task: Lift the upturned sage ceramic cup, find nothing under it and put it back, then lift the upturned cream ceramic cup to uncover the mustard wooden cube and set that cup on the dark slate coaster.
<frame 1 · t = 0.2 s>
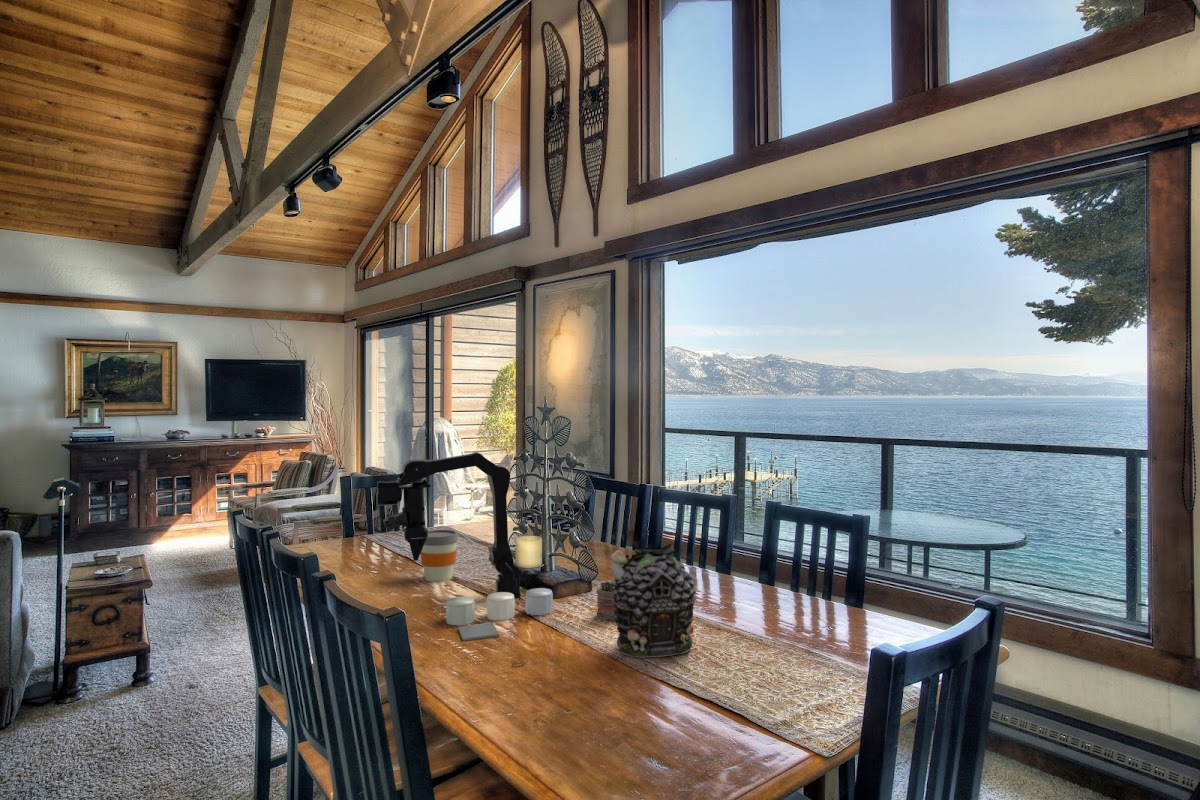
hand: (414, 556, 192), 14 cm above the table, tool pointing down, fingers open, 9 cm apart
cream cup: (500, 615, 183), on the table
sage cup: (460, 620, 180), on the table
reusable coffee cup: (438, 578, 223), on the table
yellow cube: (500, 616, 183), on the table
lighter: (610, 618, 181), on the table
light grey cylinder: (539, 611, 187), on the table
decorative house: (654, 649, 159), on the table
slate coaster: (478, 632, 170), on the table
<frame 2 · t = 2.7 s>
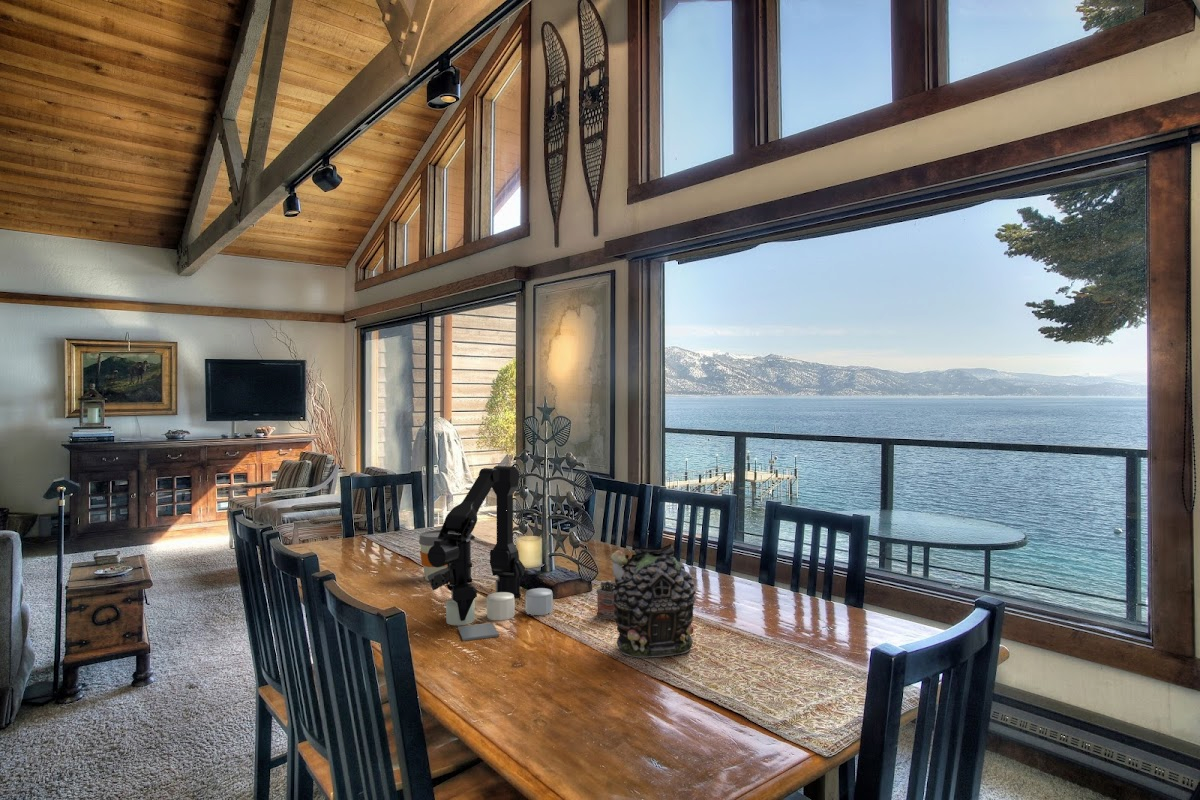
hand: (460, 616, 180), 1 cm above the table, tool pointing down, fingers closed on sage cup, 7 cm apart
sage cup: (460, 620, 180), on the table, touching gripper
everything else where it was.
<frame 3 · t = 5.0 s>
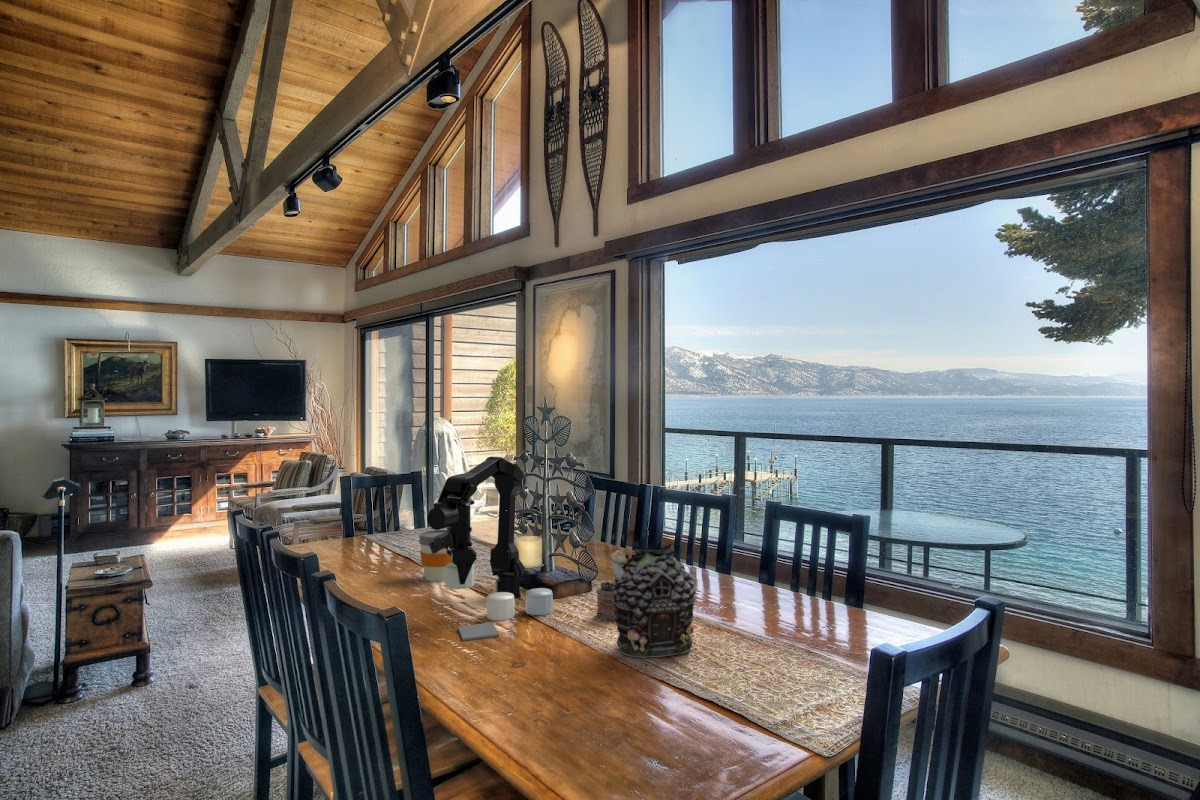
hand: (460, 580, 180), 11 cm above the table, tool pointing down, fingers closed on sage cup, 7 cm apart
sage cup: (460, 585, 180), point 10 cm above the table, touching gripper
everything else where it was.
when the fingers open (2 cm above the table, at t = 7.7 s): sage cup stays where it is, on the table.
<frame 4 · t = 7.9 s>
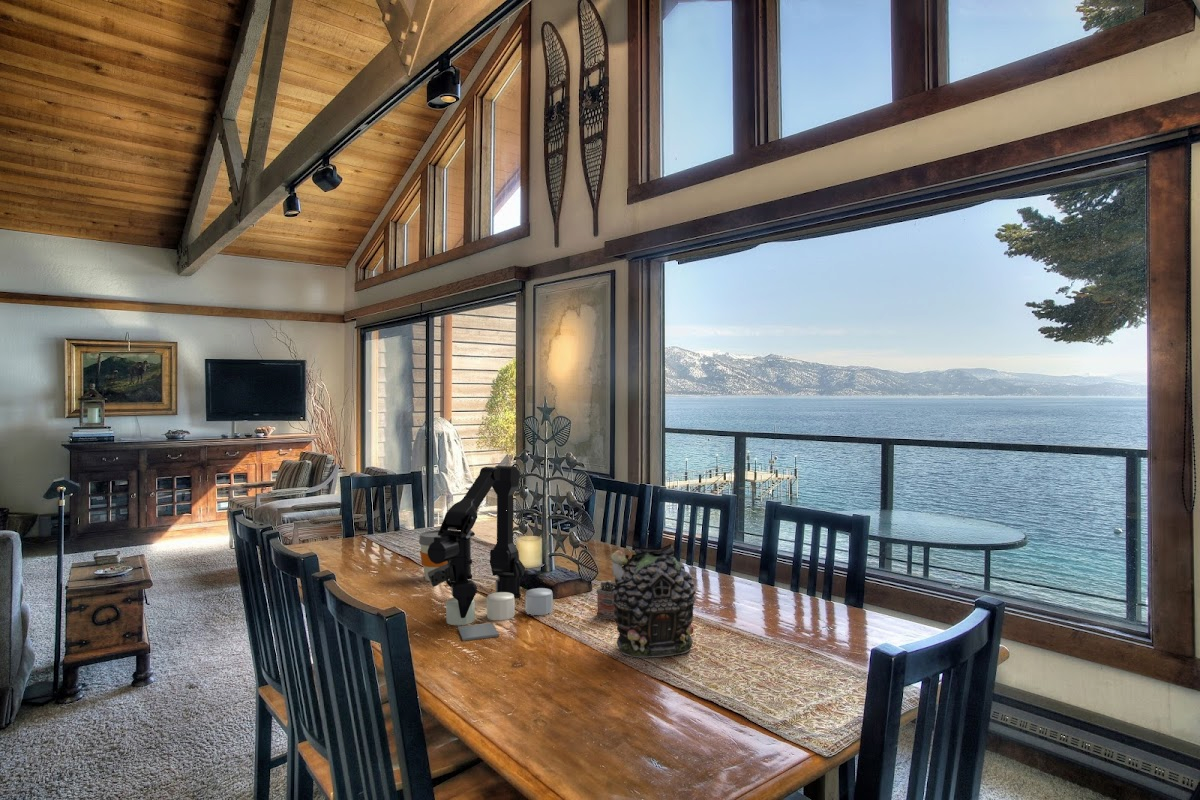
hand: (460, 612, 180), 2 cm above the table, tool pointing down, fingers open, 9 cm apart
sage cup: (460, 620, 180), on the table
everything else where it was.
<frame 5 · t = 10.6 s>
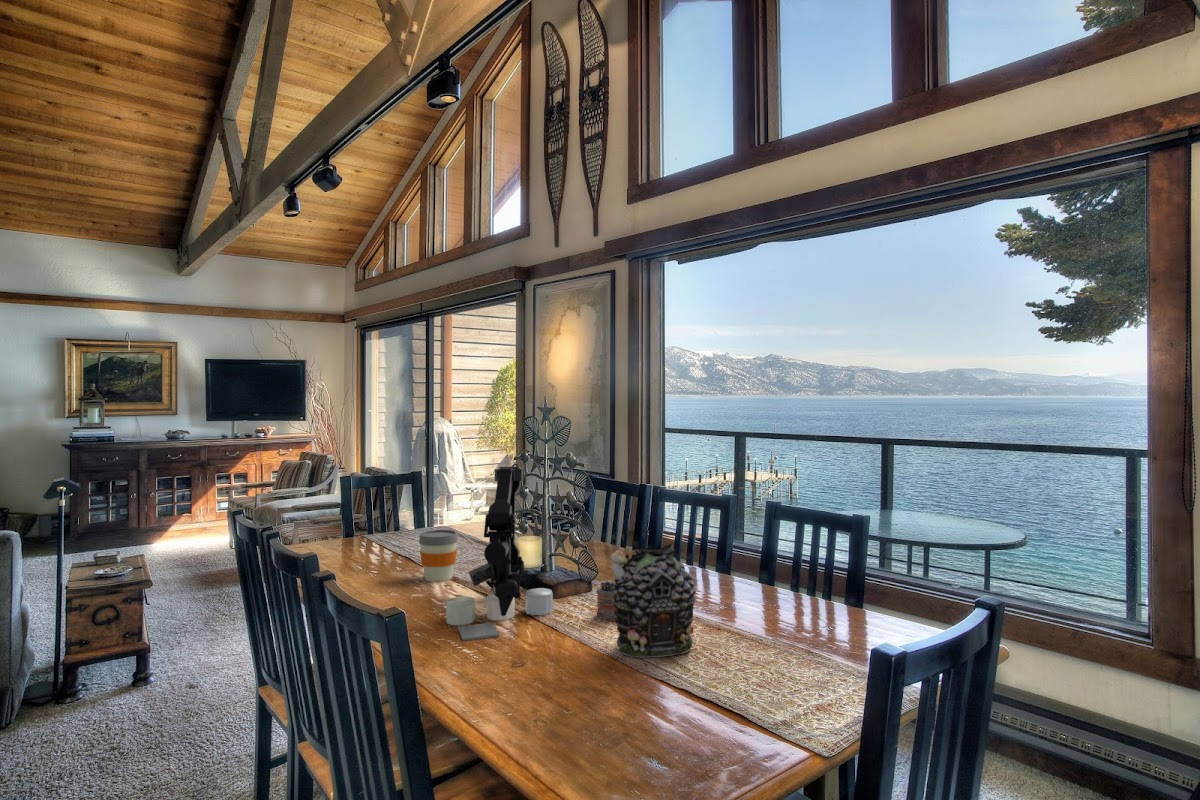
hand: (500, 611, 183), 1 cm above the table, tool pointing down, fingers closed on cream cup, 7 cm apart
cream cup: (500, 615, 183), on the table, touching gripper
everything else where it was.
when the fingers open (3 cm above the table, at t = 16.6 s): cream cup stays where it is, resting on slate coaster.
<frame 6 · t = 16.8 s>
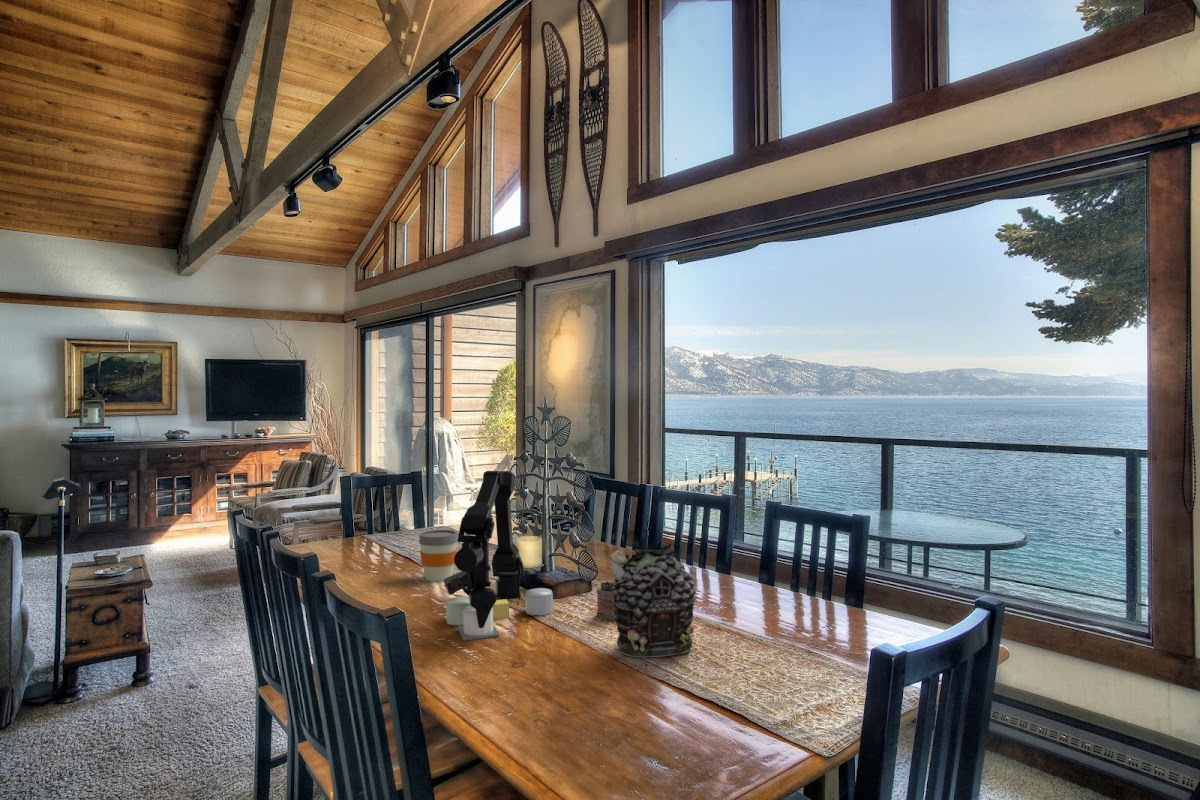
hand: (478, 621, 170), 3 cm above the table, tool pointing down, fingers open, 9 cm apart
cream cup: (478, 630, 170), point 1 cm above the table, touching slate coaster
everything else where it was.
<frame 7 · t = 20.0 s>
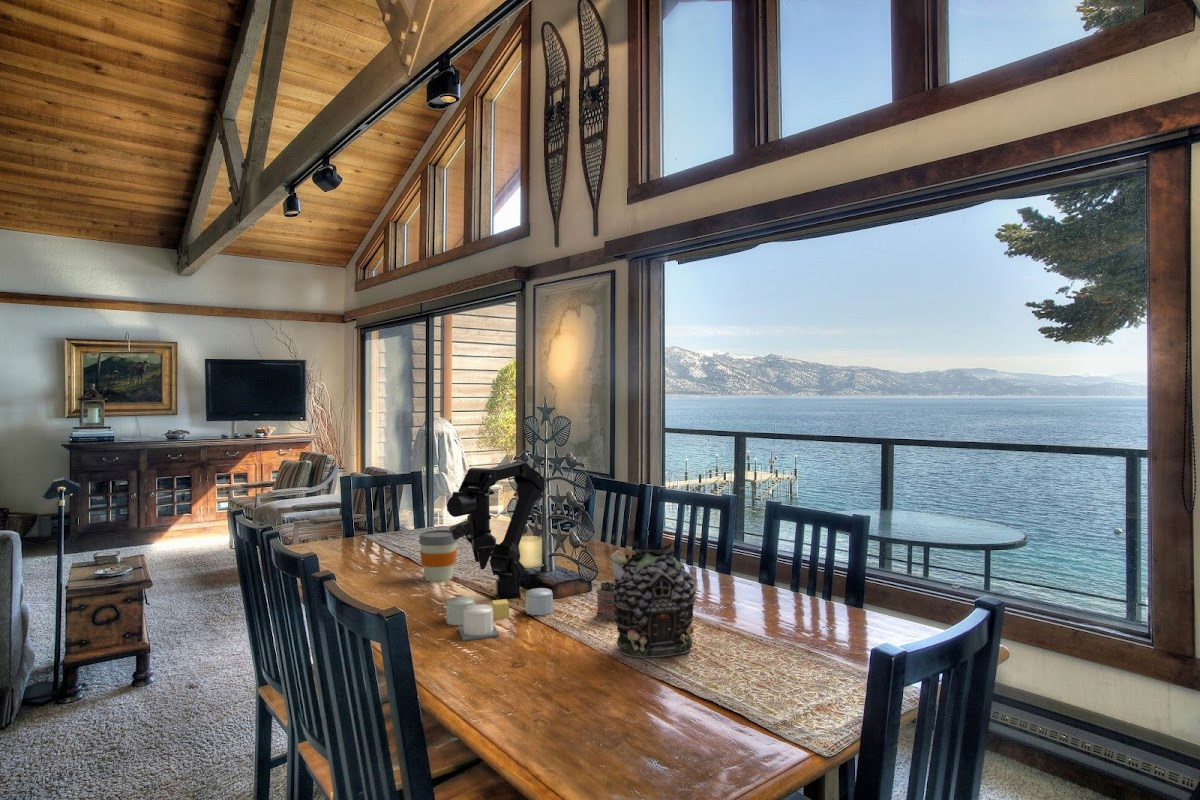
hand: (479, 565, 191), 12 cm above the table, tool pointing down, fingers open, 9 cm apart
nothing on the table moved.
at the end: cream cup 0.1 cm off-centre on the slate coaster, point 0.6 cm above the slate coaster's base; cream cup tilted 0°; sage cup moved 0.1 cm from its start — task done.
